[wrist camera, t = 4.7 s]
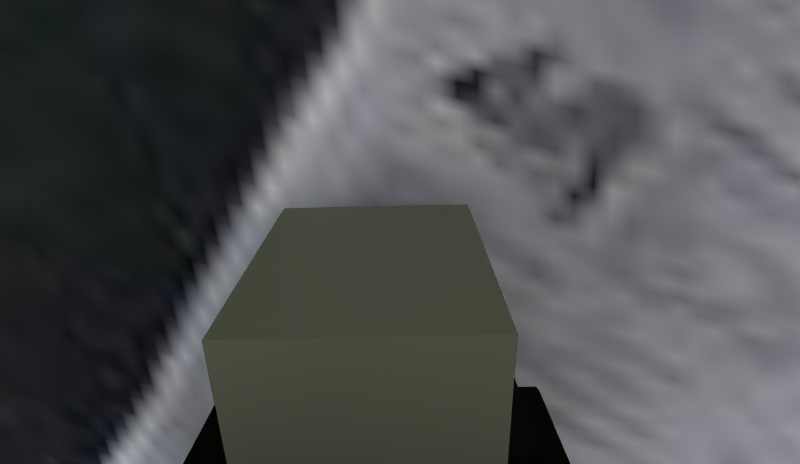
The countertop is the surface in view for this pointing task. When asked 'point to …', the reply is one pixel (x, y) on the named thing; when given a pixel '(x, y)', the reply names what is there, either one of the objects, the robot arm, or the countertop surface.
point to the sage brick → (365, 343)
